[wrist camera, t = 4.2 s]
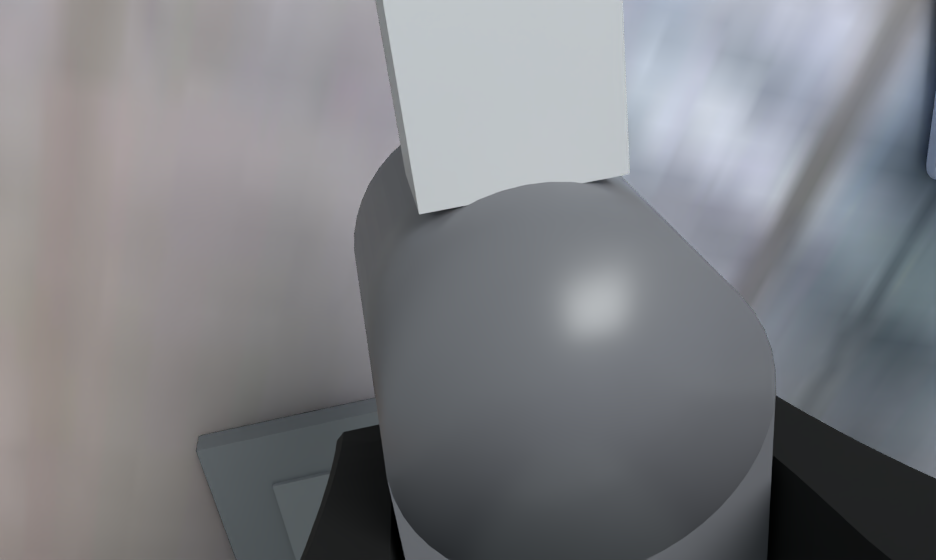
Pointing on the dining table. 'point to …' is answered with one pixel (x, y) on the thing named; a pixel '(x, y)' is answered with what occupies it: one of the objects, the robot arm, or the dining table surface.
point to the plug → (548, 309)
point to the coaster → (276, 477)
